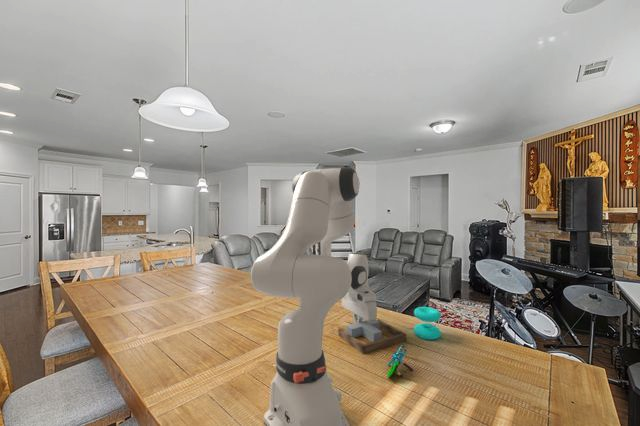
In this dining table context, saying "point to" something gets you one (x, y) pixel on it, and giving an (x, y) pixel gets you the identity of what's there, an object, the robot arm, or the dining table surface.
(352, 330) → the T-block
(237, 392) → the dining table surface
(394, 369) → the stick construction toy
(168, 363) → the dining table surface
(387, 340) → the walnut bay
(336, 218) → the robot arm
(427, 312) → the donuts
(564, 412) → the dining table surface
